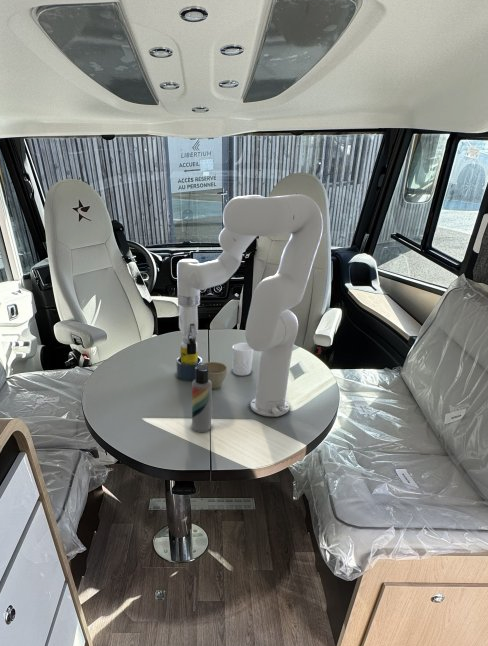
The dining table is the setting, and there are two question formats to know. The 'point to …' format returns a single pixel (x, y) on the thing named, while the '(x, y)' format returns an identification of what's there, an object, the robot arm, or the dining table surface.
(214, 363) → the flower pot
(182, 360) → the pill bottle
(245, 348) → the white cup
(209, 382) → the lotion bottle
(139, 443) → the dining table surface
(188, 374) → the canister
